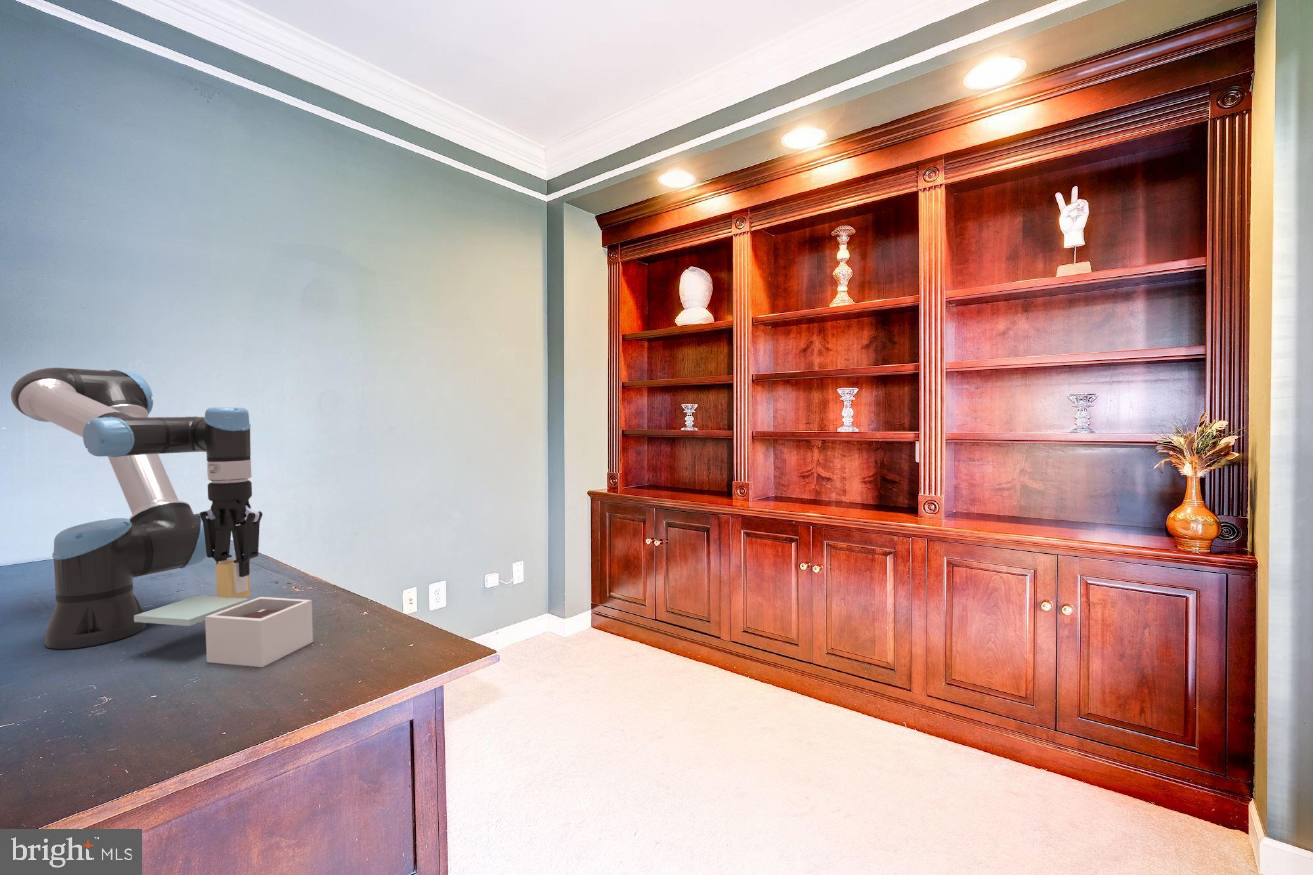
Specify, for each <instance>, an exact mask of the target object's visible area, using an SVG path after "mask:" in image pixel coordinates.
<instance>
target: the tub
mask: <svg viewBox="0 0 1313 875" xmlns="http://www.w3.org/2000/svg"><path fill="white" fill-rule="evenodd" d="M261 609H267V610H281V611H279V612H276V613H274V614H271V615H269V616H266V617H264V618H261V619H258V618H245V617H242V616H244V615H246V614H249V613H253V612H256V611H259V610H261ZM204 624H205V648H206V652H205V653H206V663H209V664H210V663H214V664H220V665H221V664H222V665H233V666H235V665H236V666H244V667H256V668H257V667H258V668H264V667H265V666H269V665H270V664H271V663H274V662H276V661H278V660H279V659H281V658H284V657H286V656H287V655H290V654H292V653H294V652H295V651H297V650H300V649H302V648H304V647H305V646H308V645H310V644H311V643H313V642H314V633H313V632H314V629H313V628H314V627H313V626H314V625H313V601H312V599H300V598H286V597H285V598H284V597H270V596H269V597H268V596H259V597H257V598H254V599H249V601H248V602H245V603H242V604H239V605H237V606H234V607H231V608H228V609H225V610H223V611H220V612H217V613H214V614H212V615H209V616H206V617H205V622H204Z"/></svg>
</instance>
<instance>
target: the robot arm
mask: <svg viewBox="0 0 1313 875" xmlns="http://www.w3.org/2000/svg"><path fill="white" fill-rule="evenodd" d="M152 397H154V396H153V392H152V389H151V386H150V385H149V383H148V382H147V381H146V379H145V378H143V377H142V375H140V374H138V373H136V372H132V371H123V370H121V369H120V370H118V369H110V370H102V369H101V370H100V369H87V368H86V369H85V368H69V367H68V368H67V367H48V368H47V367H46V368H40V369H36V370H33V371H32V372H29V373H25V375H23V376H21V378H19V379H18V380H17V381H15V383H14V385H13V386H12V389H11V391H10V398H11V402H12V404H13V406H14V407H15V409H16V410H18V411H19V412H20V413H21V414H23V415H25V416H26V417H28V418H30V419H32V420H35V421H38V422H41V423H42V422H44V423H45V422H46V423H48V422H49V423H52V424H55V425H56V426H58V427H61V428H63V429H65V430H67V431H69V432H71V433H73V434H75V435H77V436H79V437H81V438H82V440H83V441H82V442H83V445H84V446H85V449H87V452H88V453H89V454H91V455H92V456H94V457H98V458H99V457H107V458H108V460H109V463H110V466H111V467H112V470H113V472H114V474H115V477H116V479H117V481H118V484H119V486H120V490H121V491H122V493H123V496H124V498H125V500H126V503H127V505H128V508H129V509H130V512H131V516H130V517H129V518H125V517H117V518H115V517H114V518H108V519H100V520H94V521H90V522H86V523H81V524H77V525H73V526H70V527H67V528H65V529H64V530H61V531H60V532H59V533H57V534H56V536H55V537H54V540H53V552H52V559H53V566H54V567H53V570H54V584H55V586H54V589H55V607H54V610H53V612H52V615H51V617H50V620H49V623H48V626H47V628H46V629H47V630H45V633H44V641H45V642H44V643H45V647H46V648H49V649H55V650H67V649H69V650H70V649H77V648H78V649H79V648H85V647H86V648H87V647H91V646H98V645H102V644H107V643H111V642H114V641H119V640H122V639H125V638H129V637H130V636H133V635H135V634H138V633H140V632H142V631H143V630H144V629H145V628H146V626H147V625H146V624H147V623H143V622H134V615H137V614H140V613H143V612H144V611H143V609H142V607H141V605H140V603H139V600H138V599H137V597H136V595H135V592H134V578H138V577H143V576H147V575H152V574H157V573H158V574H159V573H163V572H167V571H168V572H169V571H173V570H177V569H184V568H186V567H189V566H193V565H197V564H199V563H202V562H203V561H204V560H206V559H207V558H209V559H210V558H211V559H213V560H214V561H215V565H216V564H218V563H222V562H226V561H230V560H233V559H234V558H232V557H233V555H232V554H230V549H231V541H233V548H234V556H235V559H236V560H234V561H233V577H234V593H236V594H237V593H240V592H243V591H246V590H248V575H249V573H250V572H251V570H250V561H251V559H253V558H257V557H258V556H259V546H260V526H261V525H260V524H261V520H262V517H263V512H262V511H261V510H259V511H256V510H254V509H252V506H251V504H250V499H251V497H253V486H252V485H253V484H252V481H251V480H250V479H251V478H252V476H253V475H252V459H251V456H252V453H251V428H252V427H251V423H250V415H249V411H248V409H246V408H245V407H208V408H207V409H206V410H205V412H204V416H181V417H180V416H173V417H172V416H170V417H169V416H168V417H167V416H164V417H163V416H162V417H161V416H159V417H158V416H157V417H156V416H155V417H154V416H152V417H150V416H149V415H150V414H151V411H152V410H153V406H154V399H152ZM200 452H203V453H206V469H207V470H206V473H207V480H208V481H211V482H209V483H208V484H207V499H208V500H209V501H210V502H211V505H210V508H209V509H208V510H205V511H201V512H198V513H194V511H193V509H192V508H191V505H190V504H189V503H188V502H185V501H182V500H179V498H178V495H177V493H176V491H175V489H174V487H173V485H172V482H171V480H170V477H169V476H168V474H167V470H166V468H165V467H164V464H163V462H162V460H161V457H160V454H161V455H162V454H178V453H179V454H180V453H182V454H183V453H200ZM231 539H232V540H231ZM250 574H251V573H250Z"/></svg>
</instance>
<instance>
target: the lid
mask: <svg viewBox="0 0 1313 875" xmlns="http://www.w3.org/2000/svg"><path fill="white" fill-rule="evenodd" d="M232 559H233V560H230V561H226V562H222V563H218V564H216V563H215V576H216V577H215V578H216V579H215V580H216V596H214V595H199V594H198V595H195V596H192V597H191V596H190V597H188V598H185V599H182V600H179V601H175V602H172V603H169V604H166V605H163V606H160V607H157V608H153V609H150V610H148V611H143V613H140V614H137V615H134V622H143V623H146V624H157V625H158V624H159V625H171V626H182V627H183V626H184V627H186V626H187V627H190V626H193V625H196V624H199V623H202V622H204V621H205V617H206V616H209V615H212V614H214V613H217V612H220V611H223V610H225V609H228V608H231V607H234V606H237V605H239V604H242V603H245V602H248V601H250V599H249V598H248V597H250V596H251V580H250V579H251V578H250V577H251V576H250V574H251V573H249V575H248V590H246V591H243V592H240V593H237V594H236V593H234V577H233V561H234V560H236V558H232Z"/></svg>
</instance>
